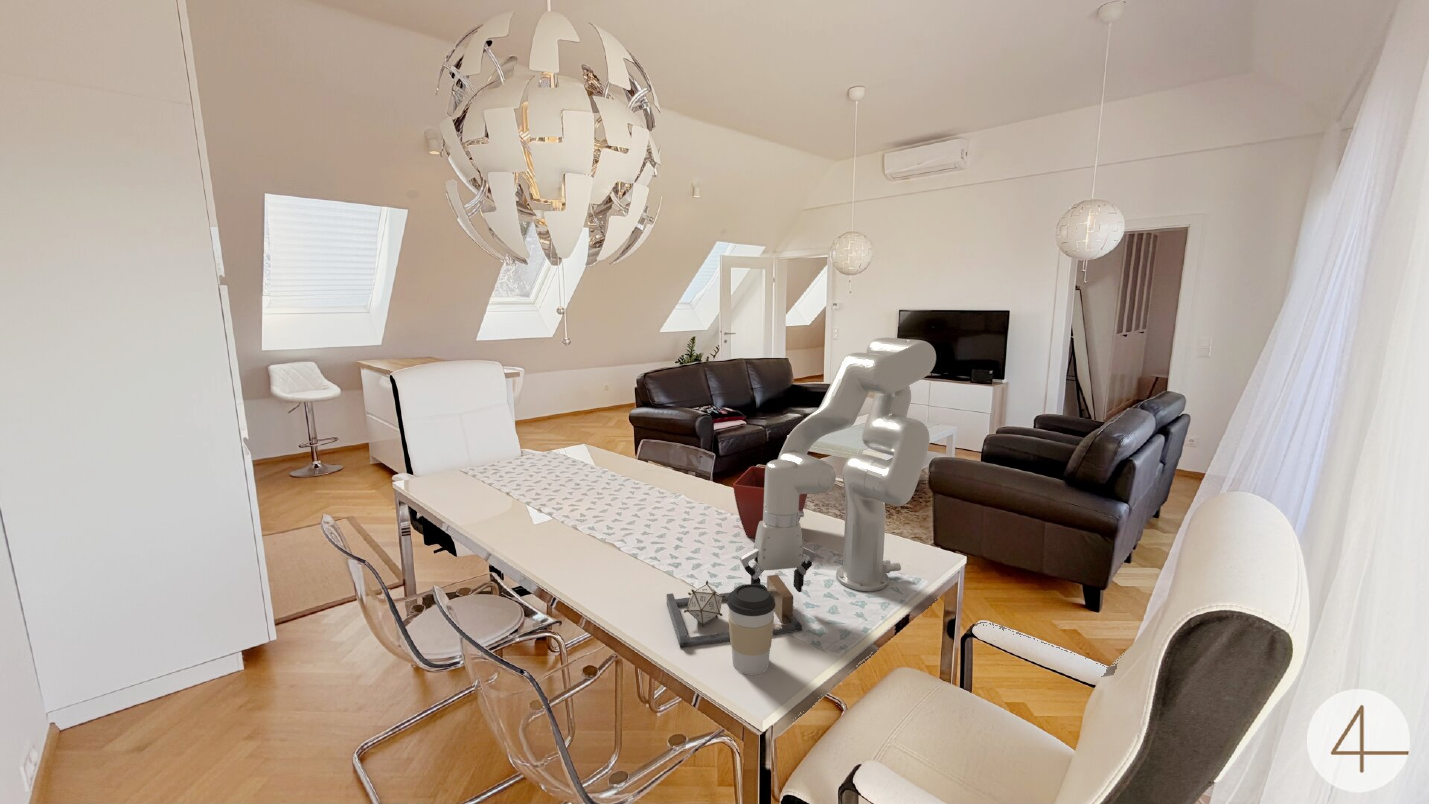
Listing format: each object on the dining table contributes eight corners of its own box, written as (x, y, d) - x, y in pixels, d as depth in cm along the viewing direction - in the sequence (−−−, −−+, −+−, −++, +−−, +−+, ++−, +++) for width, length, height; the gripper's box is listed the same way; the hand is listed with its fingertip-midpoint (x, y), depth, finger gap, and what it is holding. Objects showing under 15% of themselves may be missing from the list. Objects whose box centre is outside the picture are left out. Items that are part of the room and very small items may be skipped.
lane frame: (774, 590, 138) (775, 567, 137) (802, 630, 121) (802, 604, 120) (666, 604, 132) (666, 579, 131) (680, 647, 115) (679, 620, 114)
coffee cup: (754, 685, 104) (755, 608, 102) (717, 664, 110) (717, 591, 108) (783, 662, 111) (785, 589, 108) (746, 643, 117) (747, 574, 114)
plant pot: (796, 550, 160) (798, 491, 157) (731, 540, 167) (731, 484, 164) (810, 524, 178) (811, 472, 175) (750, 516, 184) (751, 465, 181)
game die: (702, 631, 128) (707, 584, 132) (731, 632, 122) (735, 583, 127) (673, 625, 122) (679, 576, 127) (701, 625, 117) (707, 574, 121)
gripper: (810, 509, 131) (806, 580, 133) (737, 513, 127) (734, 586, 129) (824, 521, 123) (820, 596, 126) (747, 526, 119) (744, 603, 122)
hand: (776, 591), depth 128 cm, fingers open, 9 cm apart
